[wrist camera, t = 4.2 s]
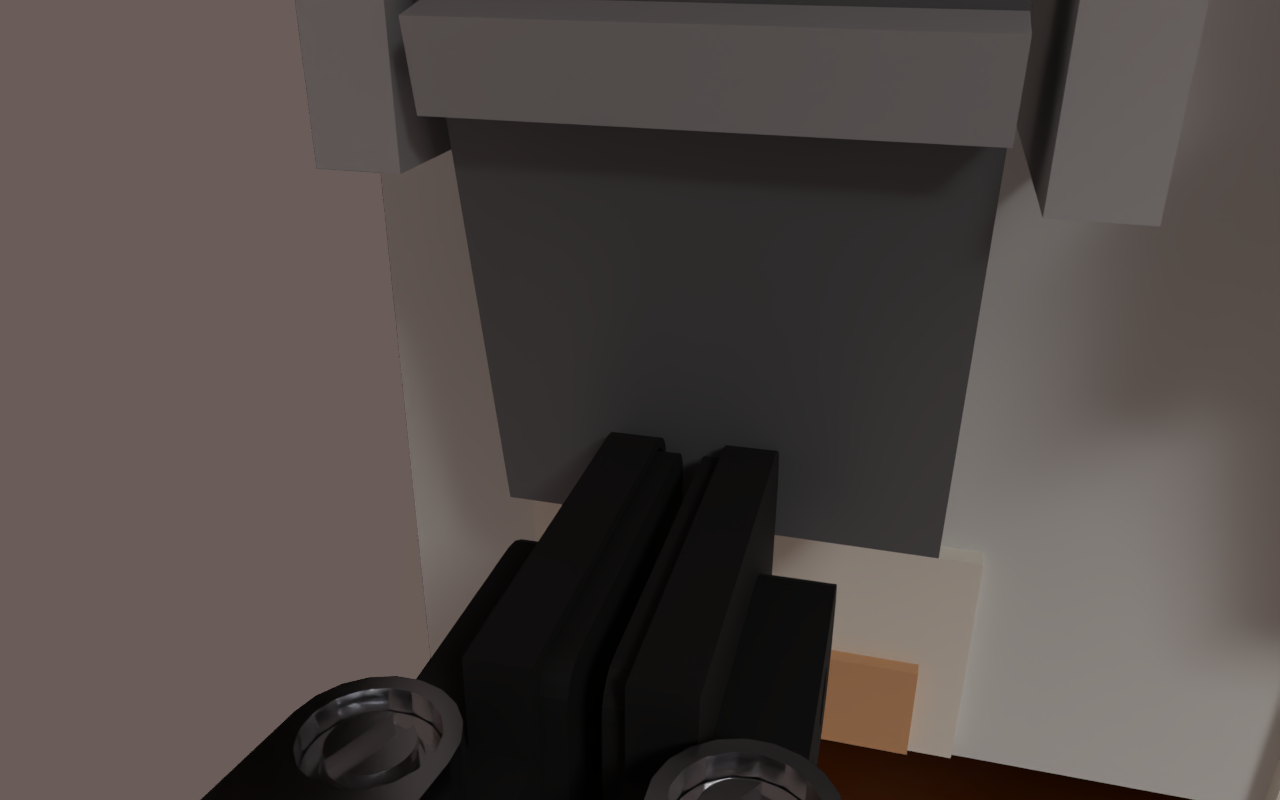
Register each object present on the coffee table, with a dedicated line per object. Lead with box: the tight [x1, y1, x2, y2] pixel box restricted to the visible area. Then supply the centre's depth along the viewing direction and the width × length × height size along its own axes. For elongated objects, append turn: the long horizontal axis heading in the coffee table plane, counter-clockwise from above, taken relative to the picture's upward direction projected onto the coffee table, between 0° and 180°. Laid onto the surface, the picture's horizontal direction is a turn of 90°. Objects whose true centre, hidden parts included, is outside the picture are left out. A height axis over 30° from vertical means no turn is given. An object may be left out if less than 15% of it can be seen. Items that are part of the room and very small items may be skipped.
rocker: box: [398, 0, 1032, 558], centre depth 9 cm, size 10×5×2 cm, turn 0°
